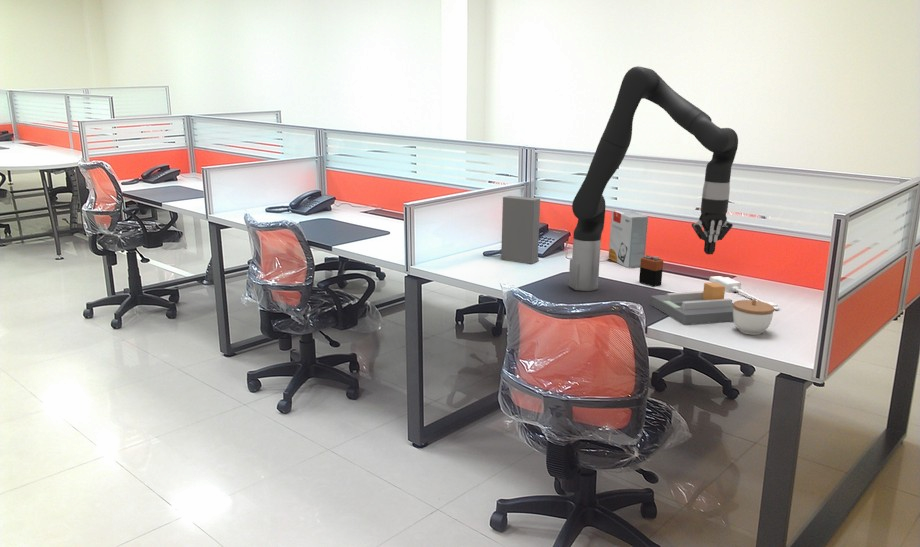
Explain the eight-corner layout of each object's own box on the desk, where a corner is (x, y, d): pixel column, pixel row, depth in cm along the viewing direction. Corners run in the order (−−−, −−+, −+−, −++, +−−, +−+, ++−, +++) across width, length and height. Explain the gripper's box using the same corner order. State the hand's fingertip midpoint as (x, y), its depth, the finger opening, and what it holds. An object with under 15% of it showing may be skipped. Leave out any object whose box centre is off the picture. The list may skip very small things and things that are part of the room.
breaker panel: (684, 324, 207) (686, 308, 206) (650, 304, 226) (651, 289, 224) (747, 320, 212) (749, 304, 211) (708, 300, 231) (710, 286, 229)
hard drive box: (607, 259, 286) (610, 209, 281) (624, 257, 288) (628, 209, 283) (627, 268, 271) (631, 216, 266) (645, 267, 274) (649, 215, 269)
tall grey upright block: (538, 261, 280) (541, 198, 274) (531, 264, 275) (534, 200, 269) (507, 256, 287) (509, 195, 281) (500, 259, 282) (502, 197, 276)
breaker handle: (711, 303, 216) (713, 287, 215) (702, 298, 221) (704, 283, 220) (723, 302, 217) (725, 286, 216) (714, 297, 222) (715, 282, 221)
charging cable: (769, 314, 221) (771, 304, 220) (708, 283, 251) (709, 274, 250) (783, 313, 223) (785, 303, 222) (720, 282, 252) (721, 273, 251)
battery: (653, 286, 246) (656, 258, 244) (638, 282, 252) (640, 255, 249) (661, 285, 249) (664, 257, 246) (646, 280, 254) (648, 253, 251)
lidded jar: (747, 323, 209) (751, 292, 207) (779, 334, 200) (783, 302, 198) (722, 328, 204) (725, 297, 202) (752, 340, 195) (756, 307, 193)
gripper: (702, 199, 205) (696, 257, 209) (742, 198, 208) (735, 255, 213) (688, 195, 212) (682, 251, 216) (727, 194, 215) (720, 250, 220)
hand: (709, 253), depth 214 cm, fingers closed
